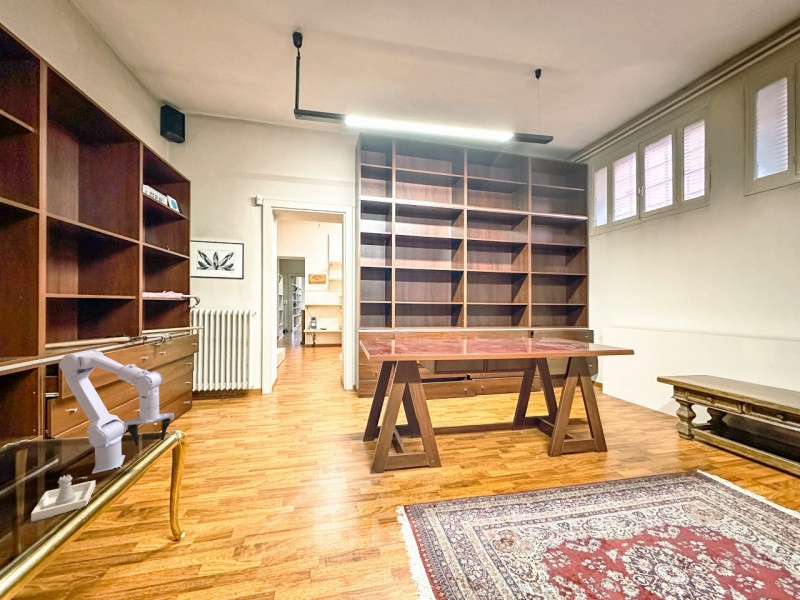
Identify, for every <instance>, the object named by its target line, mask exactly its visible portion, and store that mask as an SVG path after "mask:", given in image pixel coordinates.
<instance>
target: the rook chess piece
mask: <svg viewBox="0 0 800 600" xmlns="http://www.w3.org/2000/svg"><path fill="white" fill-rule="evenodd" d="M72 480H73V476H71V474H66V475H62V476H60V477H59V478H58V481H57V484H59V485H58V489H59V488H60V491H59V495H58V497H57V499H56V505H57V506H59V505H63V504H67V503H71V502H73V501H74V500H75V498H76V497H75V493H74V492H73V491H72V489H71V486H72Z"/></svg>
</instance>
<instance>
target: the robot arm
mask: <svg viewBox="0 0 800 600" xmlns="http://www.w3.org/2000/svg"><path fill="white" fill-rule="evenodd" d="M58 366H59V368H60V370H61V372H62V373H63V375H64V378H65V382H66V384H67V386H68V387H69V388H70V390H71V392H72V394H73V395H74V398H75V399H76V400H77V402H78V404H79V406H80V408H81V409H82V410H83V412H84V414H85V416H86V417H87V419H88V421H89V422H90V424H89V426H88V427H87V429H86V431H85V432H86V434H87V436H88V437H87V438H88V442H89V444H90V445H91V446H92V447H93V448H94V452H95V453H94V455H95V457H94V458H95V461H94V462H95V465H94V468H93V469H92V471H91V474H93V475H94V474H96V473H97V474H98V473H102V472H107V471H110V470H111V471H112V470H115V469H114V468H116V469H119V468H118V467H120V468H122V466H121V465H123V463H124V460H125V457H126V455H124V454H122V438H123V435H124V434H125V433H126V430H127V432H128V433H129V434H130V435H131V437H132V439H133V441H134V444H135V447H136V446H138V445H139V440H140V439H139V425H140V426H141V425H145V424H151V423H157V422H161V441H164V440H165V435H166V432H167V430H168V428H169V425H170V424H171V423H170V422H171V420H175V414H174V412H169V413H160V385H161V384H162V383H163V376H162V375H161V373H159V372H158V371H156V370H154V371H148V370H146V369H142V368H140V367H137V365H136V364H134V363H132V364H130V363H129V364H125V365H124V364H122V363H119V362H118V361H117V360H116V361H115V360H114V359H112V358H110V357H107V356H106V355H104V353H103V352H102V351H99V350H96V348H94V349H93V348H91V349H86V350H84V351H79V352H74V353H68V354H66V355H64V356H63V357H62V358H61V360H60V362H59V363H58ZM95 368H98V369H101V370H103V371H107V372H109V373H111V374H112V373H113V374H116V375H117V377H118V379H119V380H122V381H124V382H126V383H129V384H131V385H133V386H134V388H135V389H136V390H137V392H138V397H139V417H135V418H132V419H131V418H130V419H127V420H124V421H123V420H121V419H120V418H119V416H118V415H115V414H111V413H109V411H108V409H107V407H106V406H105V404H104V402H103V401H102V399H101V398H100V396H99V394H98V392H97V391H96V389H95V387H94V386H93V384H92V382H91V381H90V379H89V376H90V375H91V373H92V372H93V371H94V370H95Z"/></svg>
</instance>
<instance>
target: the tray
mask: <svg viewBox="0 0 800 600" xmlns="http://www.w3.org/2000/svg"><path fill="white" fill-rule="evenodd" d="M96 486H97V485H96V479H95V480H91V481H85V482H82V483H81V482H80V483H77V484H73V485H72V484H71V489H72V491H73V492H74V493H75V497H76V498H75V500H74V501H73V502H71V503H67V504H63V505H59V506H57V505H56V499H57V497H58V495H59V491H60V488H59V487H58V488H55V489H51V490H47V491H46V490H45V492H44V494H43V495H42V496H41V498H40V500H39V501H38V503H37V504H36V506H35V507H34V509H33V510H32V512H31V514H30V521H31V523H33V522H38V521H42V520H45V519H48V518H52V517H53V516H54V517H56V516H55V515H57V516H59V515H58V514H61V513H65V512H68V511H71V510H74V509H77V508H80V507H83V506H86V505H87V504H88V501H89V499H90V498H91V499H92V497H91V495H92V493H93V494H94V492H95V490H96V488H95V487H96ZM94 489H95V490H94ZM93 491H94V492H93ZM92 496H93V495H92ZM91 499H90V500H91ZM89 502H90V501H89ZM88 505H89V504H88ZM65 514H66V513H65ZM61 515H62V514H61Z"/></svg>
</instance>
